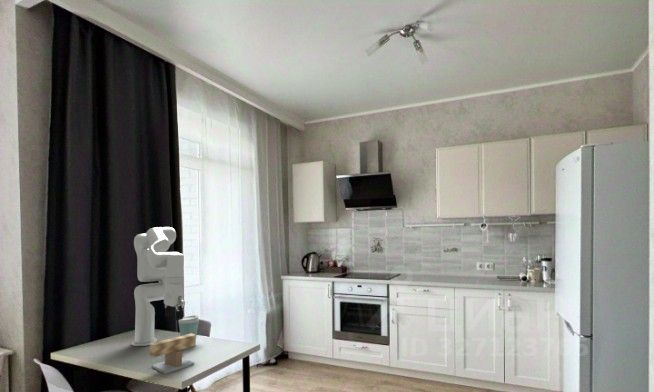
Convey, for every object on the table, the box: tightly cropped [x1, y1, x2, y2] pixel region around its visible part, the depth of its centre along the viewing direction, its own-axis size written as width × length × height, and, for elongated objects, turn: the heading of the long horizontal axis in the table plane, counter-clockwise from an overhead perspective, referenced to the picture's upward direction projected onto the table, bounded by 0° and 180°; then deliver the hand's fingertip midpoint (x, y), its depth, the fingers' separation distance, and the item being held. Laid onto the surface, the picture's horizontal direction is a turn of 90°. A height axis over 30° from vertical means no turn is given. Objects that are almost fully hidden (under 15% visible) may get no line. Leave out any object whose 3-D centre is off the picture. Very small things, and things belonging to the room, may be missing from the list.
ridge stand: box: [151, 350, 195, 375], centre depth 175 cm, size 12×14×7 cm
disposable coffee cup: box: [177, 314, 200, 337], centre depth 205 cm, size 11×11×15 cm
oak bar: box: [149, 333, 197, 358], centre depth 176 cm, size 20×4×5 cm, turn 139°
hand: (173, 317), depth 177 cm, fingers open, 9 cm apart
